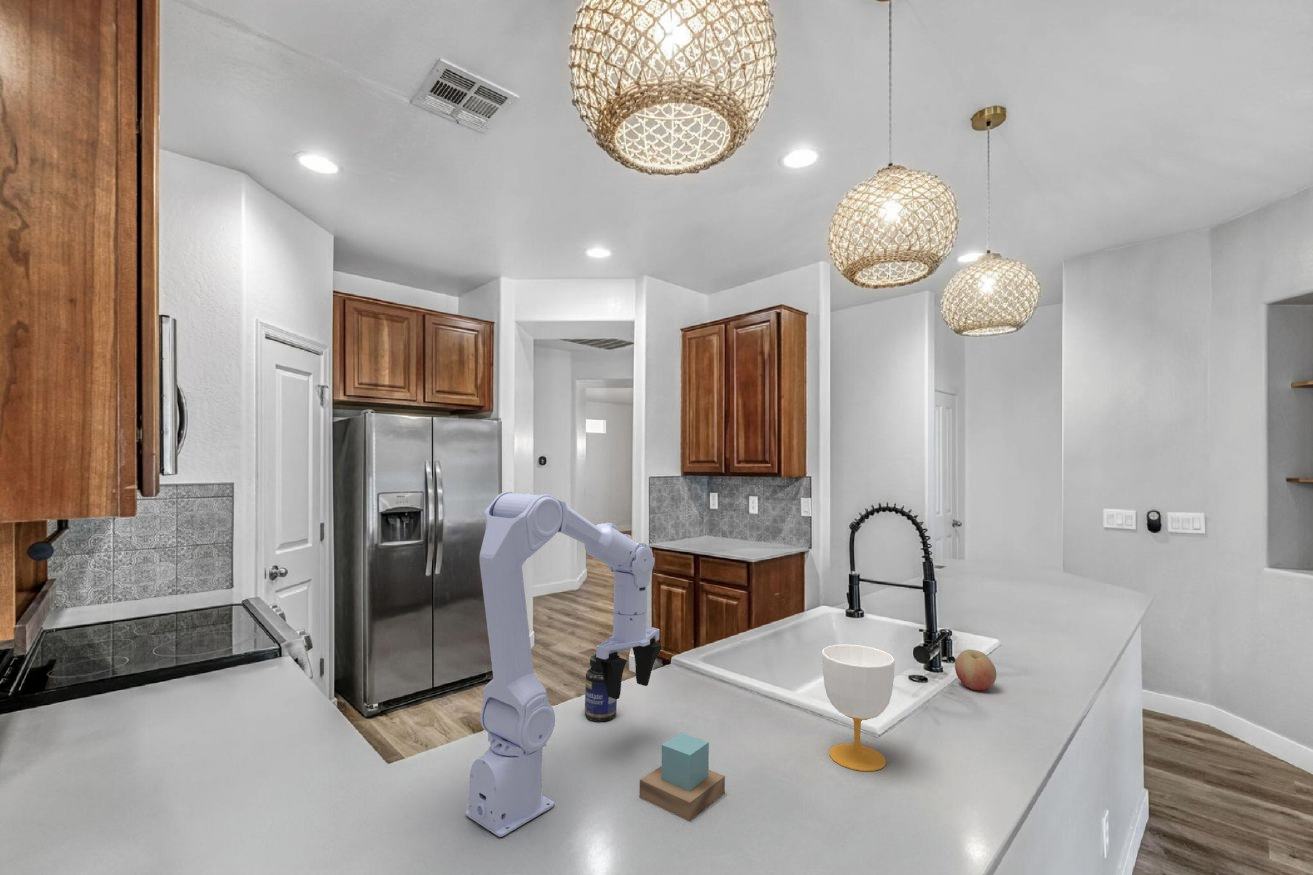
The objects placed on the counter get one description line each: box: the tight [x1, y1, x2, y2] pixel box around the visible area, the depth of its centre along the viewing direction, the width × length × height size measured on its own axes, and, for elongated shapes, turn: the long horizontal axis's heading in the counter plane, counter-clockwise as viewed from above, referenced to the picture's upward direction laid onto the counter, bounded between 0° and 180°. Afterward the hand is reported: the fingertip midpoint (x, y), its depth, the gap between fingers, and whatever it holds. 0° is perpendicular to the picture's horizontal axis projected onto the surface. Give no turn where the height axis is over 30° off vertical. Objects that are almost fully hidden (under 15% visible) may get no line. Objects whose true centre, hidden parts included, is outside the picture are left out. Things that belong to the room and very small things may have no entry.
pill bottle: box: [584, 654, 618, 722], centre depth 114 cm, size 6×6×11 cm
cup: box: [821, 643, 896, 772], centre depth 99 cm, size 12×12×17 cm
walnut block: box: [638, 766, 726, 822], centre depth 87 cm, size 9×9×3 cm
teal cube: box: [660, 732, 710, 791], centre depth 87 cm, size 5×5×5 cm
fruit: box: [954, 649, 997, 691], centre depth 132 cm, size 8×8×8 cm
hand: (628, 690), depth 102 cm, fingers open, 7 cm apart
